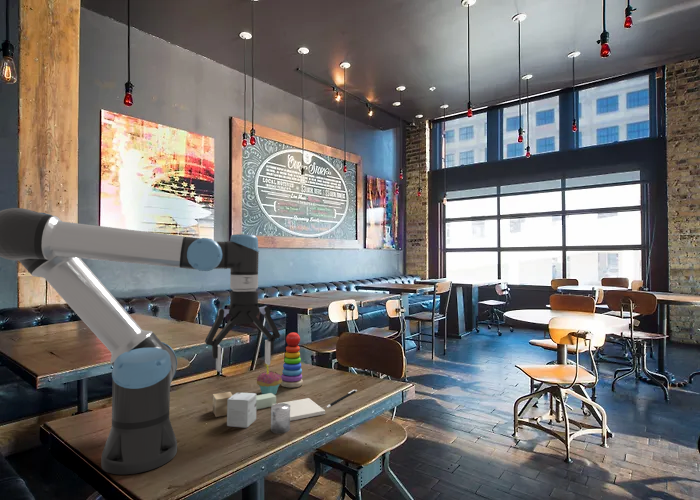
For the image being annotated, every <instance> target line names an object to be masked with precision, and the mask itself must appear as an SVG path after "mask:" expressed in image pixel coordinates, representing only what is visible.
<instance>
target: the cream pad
mask: <svg viewBox="0 0 700 500" xmlns="http://www.w3.org/2000/svg"><path fill="white" fill-rule="evenodd" d="M279 403H280V402H278V403H277V402H276V404H279ZM282 403H285V404H289V405H290V422H291V421H297V420H302V419H308V418H311V417H317V416H323V415H325V414H326V410H325V409H324V408H323V407H321V406H320V405H319V404H317V403H316V402H315V401H313V400H312V399H311V398H309V397H306V398H302V399H294V400H290V401H283V402H282ZM272 405H274V404H272Z"/></svg>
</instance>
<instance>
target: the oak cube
mask: <svg viewBox="0 0 700 500" xmlns="http://www.w3.org/2000/svg"><path fill="white" fill-rule="evenodd" d="M232 395H233V394H232V392H231V391H226V392H219V393H212V412H213V414H214V415H215V417H216V418H217V417H224V416H227V399H229V398H230V397H231V396H232Z"/></svg>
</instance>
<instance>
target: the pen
mask: <svg viewBox="0 0 700 500" xmlns="http://www.w3.org/2000/svg"><path fill="white" fill-rule="evenodd" d="M357 391H358V390H357V389H352V390H351V391H349V392H347V393H346V394H345V395H343V396H341V397H339V398H338V399H336V400H335V401H332V402H331V403H329V404H328V405H327V406H326V409H328V408H331V407H333V406H334V405H337V404H338V403H339V402H341V401H343V400H344V399H347V398H348V397H350V396H352V395H353V394H355V393H357Z"/></svg>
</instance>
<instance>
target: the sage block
mask: <svg viewBox="0 0 700 500" xmlns="http://www.w3.org/2000/svg"><path fill="white" fill-rule="evenodd" d="M272 404H277V395H276V394H275V395H274V394H272V393H268V394H262V393H261V394H258V395H257V394H256V410H260V409H265V408H271V406H272Z"/></svg>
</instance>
